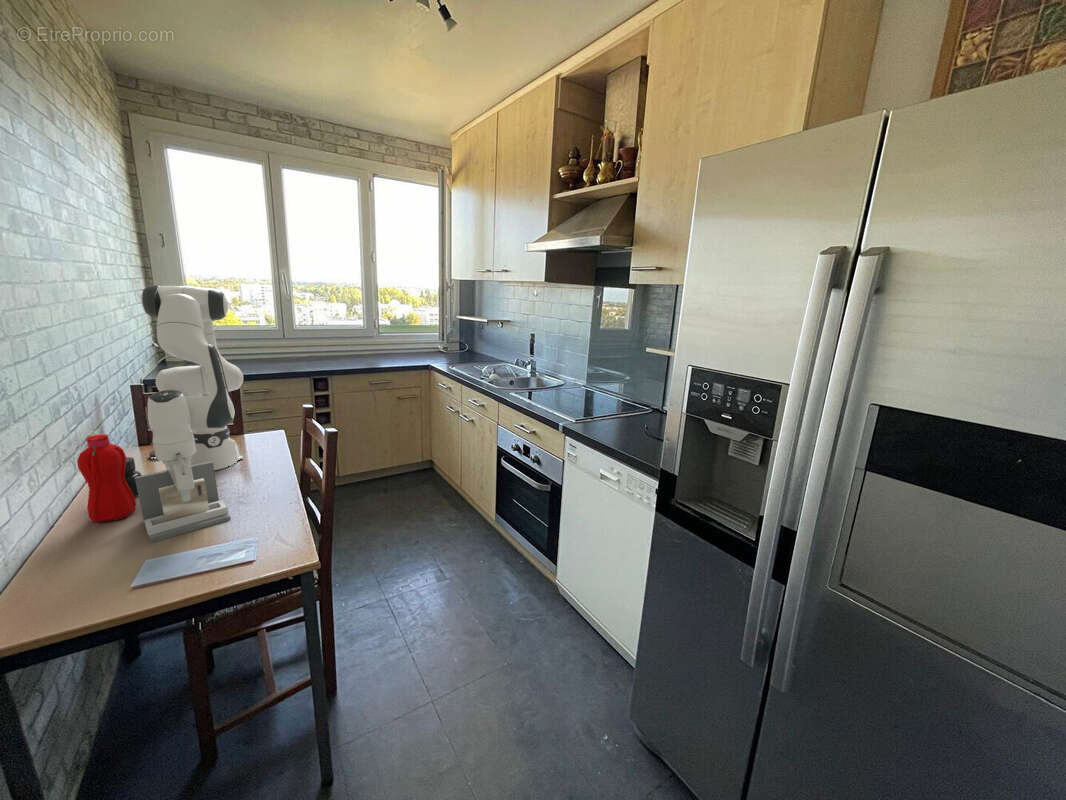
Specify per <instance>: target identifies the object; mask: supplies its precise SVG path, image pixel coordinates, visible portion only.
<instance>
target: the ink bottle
mask: <svg viewBox="0 0 1066 800" xmlns="http://www.w3.org/2000/svg"><path fill="white" fill-rule="evenodd" d="M141 475H142V473H141V472H140V471H138V470H136V463H135V458H134V457H130V456H128V457H127V456H126V464H125V481H126V482H127V484H128V486H129V488H130V490H131V491H132V493H133V495H134V498H136V497H139V496H138V491H137V486H136V481H135V477H136V476H141Z"/></svg>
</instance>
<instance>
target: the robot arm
mask: <svg viewBox="0 0 1066 800" xmlns="http://www.w3.org/2000/svg"><path fill="white" fill-rule="evenodd" d="M140 301H141V305H142V308H143V310H144V312H145V313H146V315H148V316H149V317H151V318H154V319H157V322H156V338H157V343H158V345H159V347H160V348H161V349H162V350H163V351H164V352H165V353H166V354H168V355H170V356H172V357H174V358H176V359H179V360H183V361H187V362H190V363H194V364H196V365H186V366H184V365H183V366H182V365H181V366H175V367H170V368H169V367H168V368H166V369H162V370H160V371H159V372H158V373H157V375H156V376H155V377H156V378H155V385H156V386H155V387H156V388H157V390H158V391H157V392H154V393H152V394H151V395H149V396H148V398H147V419H148V426H149V428H150V430H151V432H152V446H153V450H154V452H155V457H156V459H155V460H158V461H162V464H163V465H165V468H166V470H168V472H169V474H170V476H171V478H172V480H173V482H174V484H175V486H176V488H177V490H178V491H179V492H181V497H182V501H183V502H186V501H190V500H191V498H190V490H191V489H194V479H193V474H192V469H191V465H195V464H200V463H205V462H210V461H212V462H213V465H214V471H217V470H222V469H226V468H228V466H229V467H232V466H233V465H235V464H236V463H238V462H239V461H238V460H240V459H242V458H243V459H244V457H243V455H240V454H238V450H237V445H236V444H237V443H236V441H235V440H234V439H233V438H230V430H229V427H228V426H229V424H231V423H232V422H233V420H235V419H234V418H235V412H236V411H235V408H234V403H233V401H232V399H231V396H230V392H232V391H236V390H239V389H240V388H241V387H242V386H243V383H244V374H243V372H242V370H241V368H239V367H238V366H237V365H235V364H233V363H231V362H229V361H228V360H226V359H225V358H224V357H223V356H222V355H221V353H220V351H219V348H218V344H217V340H216V339H217V338H216V334H215V325H214V321H215V322H216V321H220V320H223V319H224V318H225V317H227V313H228V310H229V302H228V300H227V297H226V296H225V294H224V293H223V291H221V290H219V289H216V288H213V287H212V288H211V287H209V288H206V287H200V286H193V285H160V284H155V285H154V284H153V285H147V286H146V287H145V288H143V290H142V293H141V295H140ZM243 459H242V460H243ZM237 461H238V462H237ZM240 461H241V460H240ZM234 463H235V464H234Z"/></svg>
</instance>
